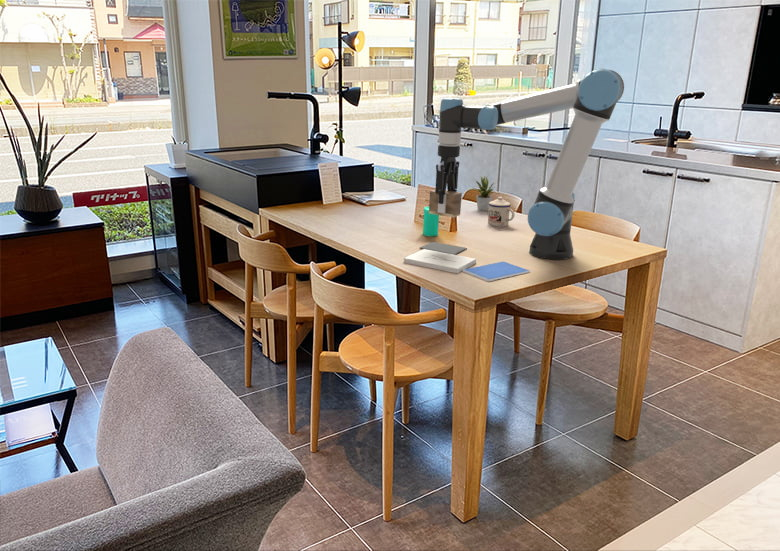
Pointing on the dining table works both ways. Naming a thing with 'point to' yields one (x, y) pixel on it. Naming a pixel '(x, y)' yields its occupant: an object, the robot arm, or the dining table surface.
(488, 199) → the house plant
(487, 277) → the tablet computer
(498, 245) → the dining table surface
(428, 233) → the candle
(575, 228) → the dining table surface
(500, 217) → the teacup with lid
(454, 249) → the mat
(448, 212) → the sanding block
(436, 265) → the marked board
